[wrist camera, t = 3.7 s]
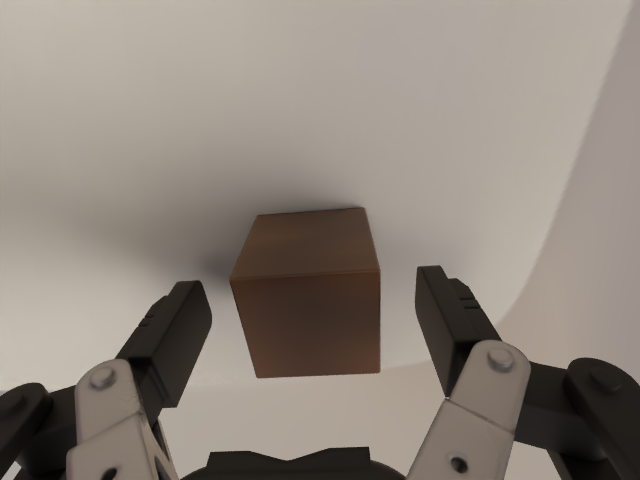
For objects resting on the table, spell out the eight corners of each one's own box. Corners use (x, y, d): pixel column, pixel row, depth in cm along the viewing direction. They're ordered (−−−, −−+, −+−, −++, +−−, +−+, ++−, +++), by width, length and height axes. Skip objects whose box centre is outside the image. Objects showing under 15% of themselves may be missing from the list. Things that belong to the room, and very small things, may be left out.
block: (365, 206, 13) (381, 269, 9) (367, 293, 15) (380, 374, 11) (256, 214, 13) (227, 279, 9) (274, 299, 15) (256, 379, 12)
